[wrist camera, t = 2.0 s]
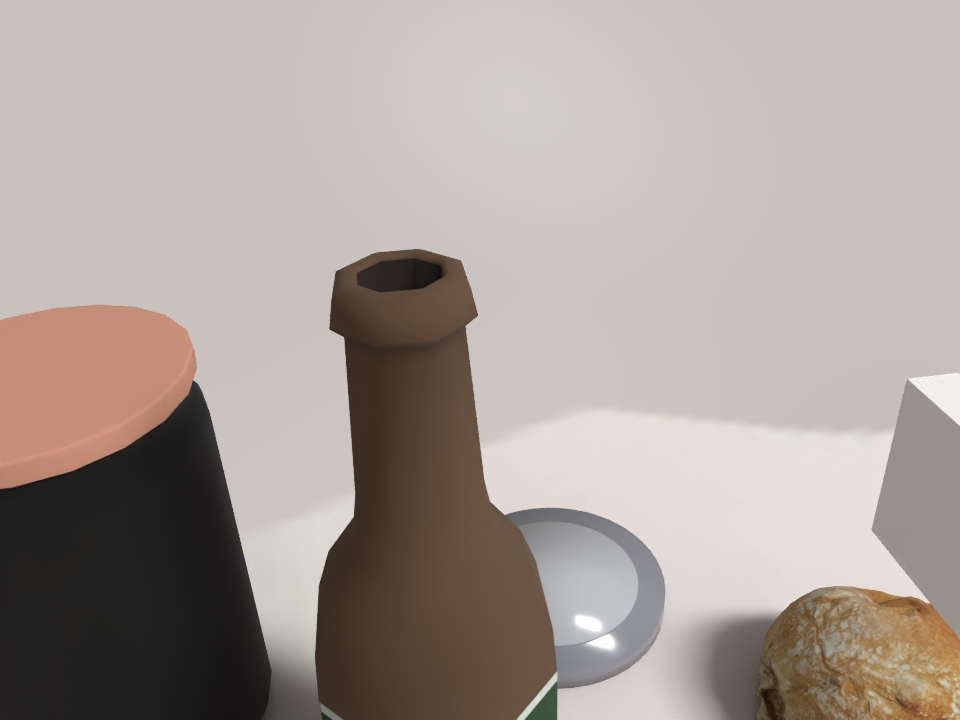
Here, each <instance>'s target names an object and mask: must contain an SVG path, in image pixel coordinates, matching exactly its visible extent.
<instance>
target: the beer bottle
mask: <svg viewBox="0 0 960 720" xmlns="http://www.w3.org/2000/svg"><path fill="white" fill-rule="evenodd" d="M477 316H478V313H477V310H476V306H475V302H474V298H473V294H472V291H471V288H470V285H469V282H468V279H467V276H466V274H465V271H464V268H463V265H462V262H461V260H457V259H454V258H450V257H447V256H443V255H440V254H436V253H432V252H429V251H425V250H420V249H413V250H401V251H390V252H378V253H374V254H371V255H369V256H367V257H365V258H363V259H361V260H359V261H357V262H355V263H353V264H350V265H348V266H346V267H344V268H342V269H340V270H338V271H336V274H335V281H334V287H333V293H332V300H331V314H330V330H332V331H333V332H336V333H337V334H339V335H341V336H343V337H344V338H345V339H344V340H345V354H346V367H347V382H348V395H349V410H350V424H351V438H352V451H353V452H352V453H353V466H354V481H355V507H354V517H353V519H352V520H351V522H350V523H349V524H348V526H347V527H346V528H345V530H344V531H343V532H342V534H341V535H340V537H339V538H338V539H337V541H336V542H335V543H334V545H333V546H332V547H331V549H330V550H329V552H328V555H327V559H326V563H325V566H324V570H323V573H322V577H321V580H320V584H319V595H318V613H317V631H316V650H315V663H316V674H317V685H318V696H319V704H320V709H321V714H322V719H323V720H557V663H556V653H555V644H554V634H553V627H552V623H551V619H550V615H549V611H548V607H547V603H546V599H545V595H544V591H543V587H542V583H541V579H540V576H539V572H538V568H537V564H536V560H535V558H534V556H533V554H532V552H531V550H530V548H529V546H528V544H527V542H526V540H525V538H524V536H523V534H522V532H521V530H520V529H519V528H518V527H517V526H516V525H515V524H514V523H513V522H512V521H510V520H509V519H508V518H507V517H506V516H505V515H504V514H503V513H502V512H501V511H499V510H498V509H497V508H496V507H495V506H494V505H493V504H492V503H491V502H490V500H489V496H488V493H487V489H486V485H485V481H484V474H483V466H482V458H481V450H480V442H479V433H478V425H477V417H476V409H475V401H474V393H473V384H472V376H471V368H470V360H469V352H468V344H467V337H466V328H465V326H466V325H467V324H468V323H469V322H471V321H472V320H473V319H474V318H476V317H477Z"/></svg>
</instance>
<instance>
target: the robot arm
mask: <svg viewBox="0 0 960 720" xmlns="http://www.w3.org/2000/svg"><path fill="white" fill-rule="evenodd" d="M872 531H873V532H874V534H875V535H876V536H877V537H878V539H879V540H880V541H881V542H882V544H883V545H884V546H885V547H886V549H887V550H888V551H889V552H890V554H891V555H892V556H893V557H894V559H895V560H896V561H897V562H898V563H899V565H900V566H901V567H902V568H903V570H904V571H905V572H906V573H907V575H908V576H909V577H910V578H911V580H912V581H913V582H914V583H915V585H916V586H917V587H918V588H919V590H920V591H921V592H922V593H923V594H924V596H925V597H926V598H927V599H928V601H929V602H930V603H931V604H932V606H933V607H934V608H935V609H936V611H937V612H938V613H939V614H940V616H941V617H942V618H943V619H944V621H945V622H946V623H947V624H948V625H949V627H950V628H951V629H952V630H953V632H954V633H955V634H956V635H957V637H958V638H959V639H960V374H959V373H952V374H945V375H935V376H927V377H918V378H910V379H907V382H906V386H905V390H904V394H903V399H902V403H901V407H900V411H899V416H898V421H897V424H896V428H895V433H894V437H893V441H892V445H891V450H890V454H889V458H888V462H887V467H886V471H885V475H884V479H883V484H882V488H881V492H880V496H879V501H878V505H877V509H876V513H875V518H874V522H873V526H872Z"/></svg>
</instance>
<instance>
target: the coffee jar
mask: <svg viewBox="0 0 960 720" xmlns="http://www.w3.org/2000/svg"><path fill="white" fill-rule="evenodd" d="M196 368H197V366H196V358H195V351H194V348H193V346H192V343H191V341H190V338H189V336H188V333H187V331H186V329H185V328H183V327H182V326H180V325H179V324H177V323H176V322H174V321H173V320H171V319H170V318H169V317H167V316H166V315H163V314H159V313H155V312H152V311H148V310H144V309H140V308H137V307H125V306H107V305H90V306H78V307H67V308H56V309H49V310H44V311H40V312H35V313H30V314H25V315H20V316H16V317H11V318H6V319H3V320H0V720H261V718H262V716H263V714H264V712H265V710H266V707H267V704H268V699H269V690H270V680H271V667H270V663H269V659H268V655H267V650H266V646H265V642H264V638H263V634H262V629H261V625H260V621H259V617H258V613H257V609H256V604H255V600H254V596H253V592H252V588H251V583H250V579H249V575H248V571H247V567H246V562H245V558H244V554H243V550H242V546H241V542H240V537H239V533H238V529H237V525H236V521H235V516H234V512H233V508H232V504H231V500H230V496H229V491H228V487H227V483H226V479H225V475H224V470H223V466H222V462H221V459H220V454H219V450H218V446H217V441H216V437H215V433H214V429H213V425H212V420H211V416H210V413H209V410H208V407H207V404H206V401H205V399H204V396H203V393H202V391H201V389H200V387H199V385H198V384H197V383H196V382H195V381H193V378H194V375H195V372H196Z"/></svg>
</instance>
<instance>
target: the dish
mask: <svg viewBox="0 0 960 720" xmlns="http://www.w3.org/2000/svg"><path fill="white" fill-rule="evenodd" d="M505 516H506V517H507V518H508V519H509V520H510V521H512V522H513V523H514V524H515V525H516V526H517V527H518V528H519V529H520V530H521V532H522V534H523V536H524V538H525V540H526V542H527V544H528V546H529V548H530V550H531V552H532V554H533V556H534V558H535V560H536V564H537V568H538V572H539V576H540V579H541V583H542V587H543V591H544V595H545V599H546V603H547V607H548V611H549V615H550V619H551V623H552V627H553V634H554V644H555V653H556V663H557V688H573V687H579V686H585V685H590V684H594V683H597V682H601V681H604V680H606V679H609V678H611V677H613V676H616V675H618V674H619V673H621V672H623V671H625V670H626V669H628V668H630V667H631V666H632V665H633V664H635V663H636V662H637V661H638V660H640V659H641V658H642V657H643V656H644V654H645V653H646V652H647V651H648V650H649V649H650V647H651V646H652V644H653V643H654V641H655V640H656V637H657V635H658V633H659V631H660V628H661V624H662V620H663V611H664V601H665V584H664V578H663V575H662V571H661V568H660V566H659V564H658V562H657V560H656V558H655V557H654V556H653V554H652V553H651V551H650V550H649V549H648V548H647V547H646V545H645V544H644V543H643V542H642V541H641V540H640V539H638V538H637V537H636V536H635V535H634V534H632V533H631V532H629V531H628V530H626V529H625V528H623V527H622V526H620V525H618V524H616V523H614V522H612V521H610V520H608V519H605V518H603V517H600V516H597V515H594V514H591V513H587V512H582V511H578V510H571V509H563V508H538V509H529V510H522V511H518V512H514V513H510V514H507V515H505Z"/></svg>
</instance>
